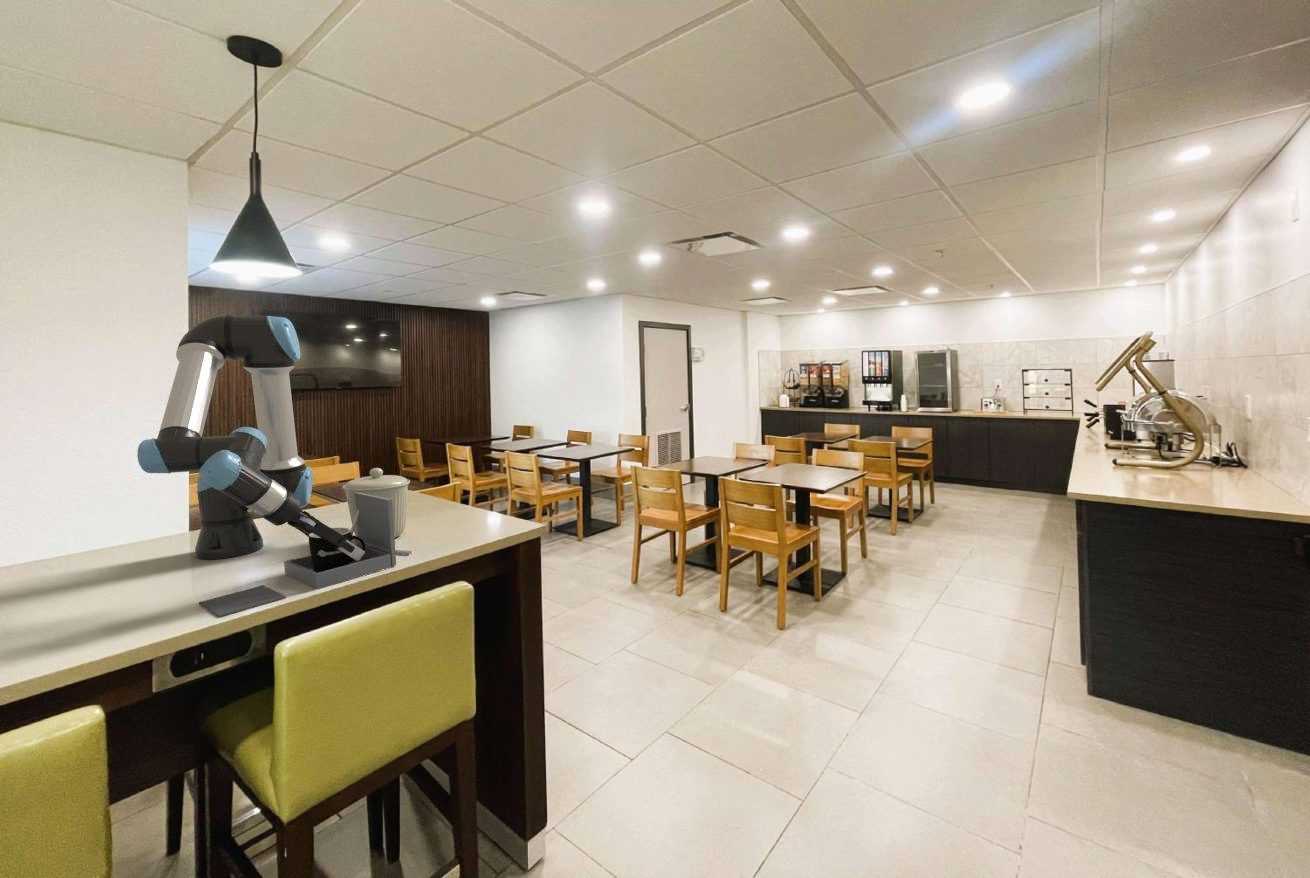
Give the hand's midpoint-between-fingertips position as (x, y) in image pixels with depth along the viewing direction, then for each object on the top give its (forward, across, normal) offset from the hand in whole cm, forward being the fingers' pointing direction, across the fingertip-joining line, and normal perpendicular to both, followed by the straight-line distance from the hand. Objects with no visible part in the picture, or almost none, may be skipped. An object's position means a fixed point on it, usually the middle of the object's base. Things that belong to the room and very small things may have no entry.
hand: (350, 552), depth 141 cm
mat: (-14, +2, -20) cm, 25 cm away
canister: (+16, -21, +10) cm, 28 cm away
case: (0, 0, -5) cm, 5 cm away
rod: (+11, -3, +5) cm, 13 cm away
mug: (+1, 0, -5) cm, 5 cm away
